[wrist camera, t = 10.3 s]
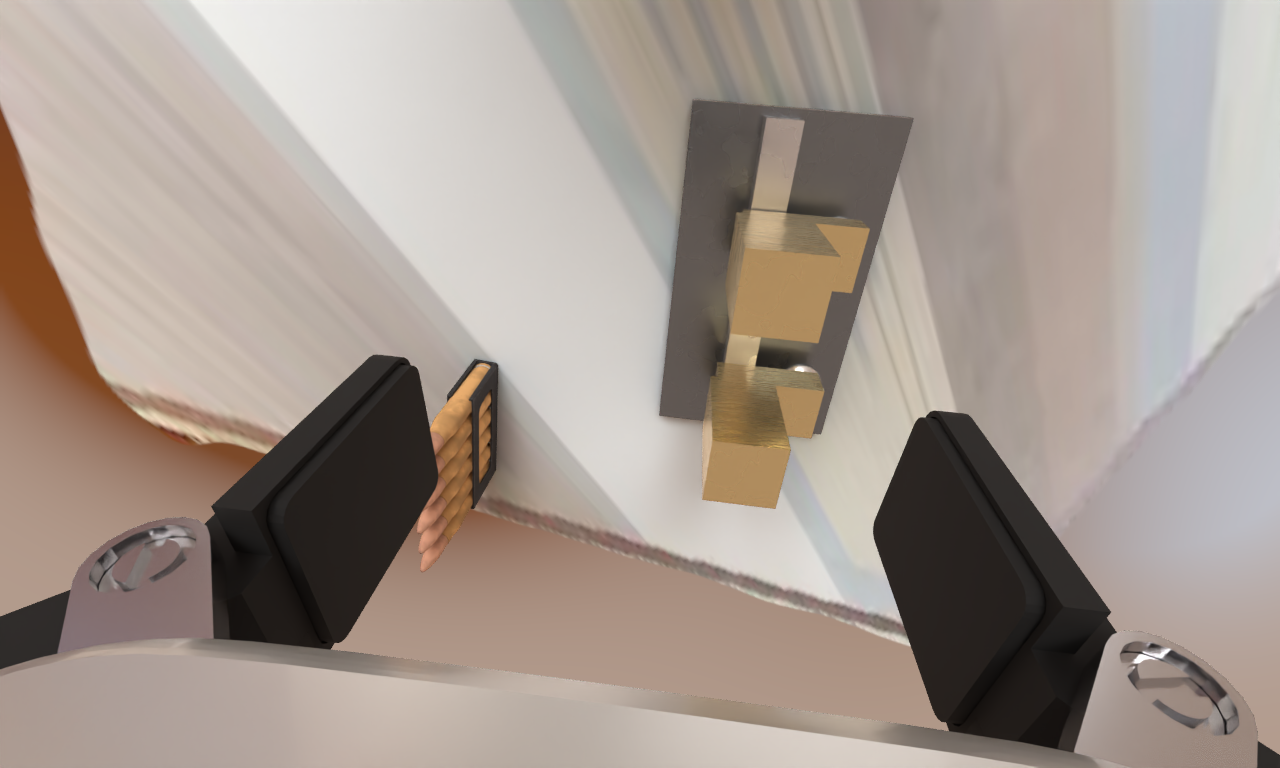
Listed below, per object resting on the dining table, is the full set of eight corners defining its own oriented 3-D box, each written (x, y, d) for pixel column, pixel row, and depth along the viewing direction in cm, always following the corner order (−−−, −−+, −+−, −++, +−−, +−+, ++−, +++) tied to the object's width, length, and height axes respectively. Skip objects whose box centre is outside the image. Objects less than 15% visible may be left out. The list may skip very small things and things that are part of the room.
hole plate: (693, 98, 31) (687, 109, 20) (906, 117, 30) (1015, 137, 20) (660, 407, 41) (645, 519, 31) (817, 425, 41) (857, 546, 30)
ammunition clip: (474, 358, 41) (396, 453, 31) (498, 362, 41) (428, 458, 31) (474, 466, 46) (408, 578, 36) (495, 470, 46) (435, 583, 36)
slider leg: (733, 200, 31) (745, 247, 23) (856, 212, 31) (916, 264, 22) (723, 266, 33) (730, 333, 25) (838, 278, 33) (887, 350, 24)
